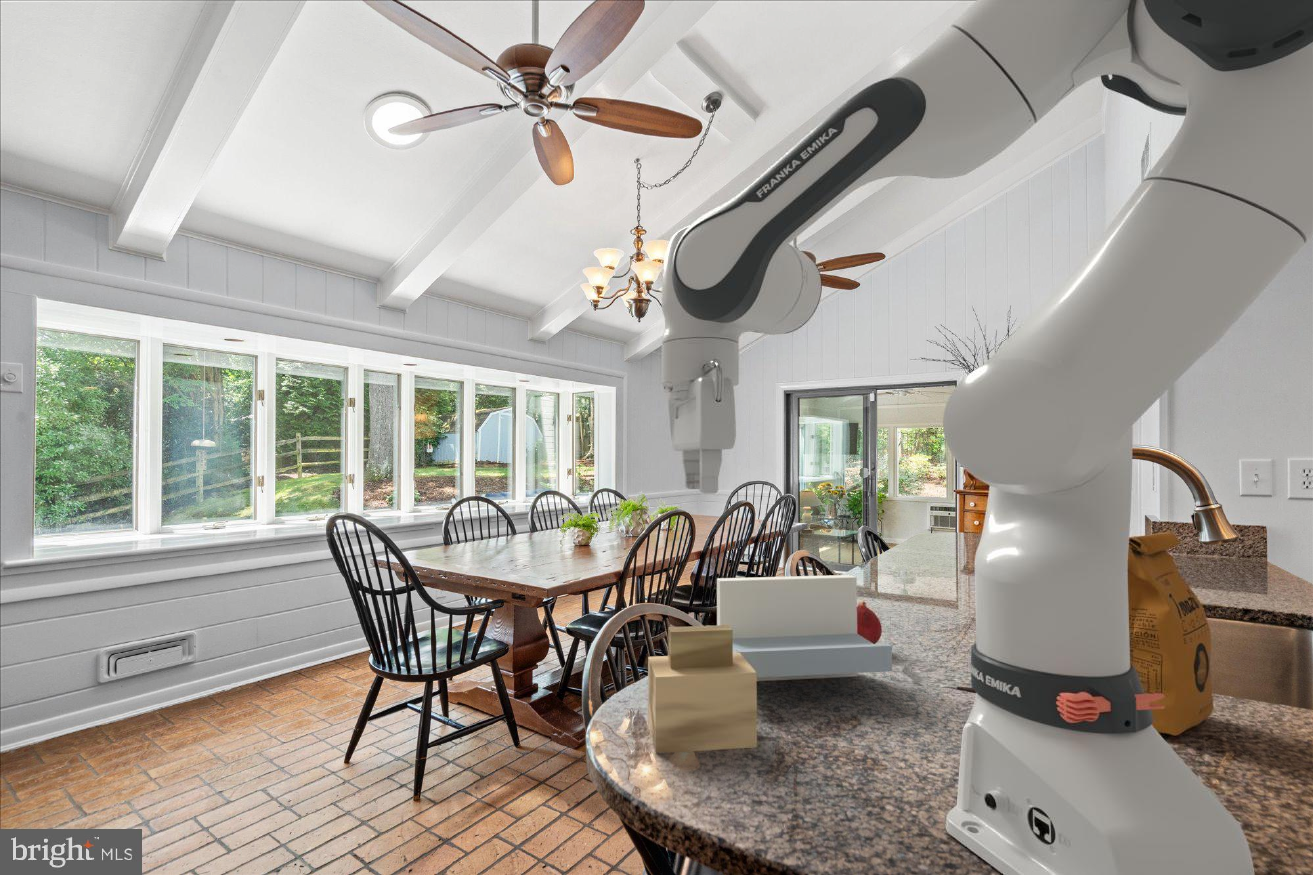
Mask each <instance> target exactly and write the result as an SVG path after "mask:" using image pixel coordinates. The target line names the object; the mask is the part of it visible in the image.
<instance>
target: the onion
mask: <svg viewBox="0 0 1313 875" xmlns="http://www.w3.org/2000/svg"><path fill="white" fill-rule="evenodd" d="M882 629H883V626H882V622H881V621H880V618H879V617H878V615H876V613H875V612H874V611H873V610H872V609H871V608H869V607H867V602H865V601H864V600H861V601H858V604H857V634H858V635H860V636H862V637H863V638H865V639H867V640H868V641H870V642H871V643H873V644H878V642H879V640H880V639H881V637H882V632H883V630H882Z"/></svg>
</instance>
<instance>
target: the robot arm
mask: <svg viewBox="0 0 1313 875" xmlns="http://www.w3.org/2000/svg"><path fill="white" fill-rule="evenodd" d="M1110 76H1111V78H1110ZM1099 77H1100V81H1101V84H1102V85H1103V86H1104V87H1105V88H1106V89H1107V90H1110V91H1112V92H1115V93H1117V94H1121V95H1123V96H1125V97H1129V98H1130V99H1133V100H1136V101H1138V102H1139V103H1141V104H1143V105H1145V106H1146V107H1149V108H1150V109H1152V110H1155V111H1158V112H1160V113H1161V112H1162V113H1163V114H1168V115H1174V116H1179V117H1180V116H1181V117H1184V119H1183V122H1182V125H1181V126H1180V128H1179V130H1178V131H1177V133H1176V134H1175V136H1174V138H1173V140H1172V141H1171V142H1170V143H1169V145H1168V147H1167V149H1166V150H1165V151H1164V152H1163V153H1162V155H1161V157H1160V158H1159V159H1158V160H1157V161H1156V163H1155V165H1154V166H1153V167H1152V168H1151V170H1150V171H1149V172H1148V174H1147V175H1146V177H1145V178H1144V179H1143V180H1142V182H1141V183H1140V184H1139V185H1138V187H1137V188H1136V189H1135V191H1134V192H1133V193H1132V194H1131V196H1130V198H1128V200H1127V201H1126V202H1125V204H1124V206H1123V207H1122V208H1121V209H1120V211H1119V212H1118V213H1117V215H1116V216H1115V218H1114V219H1113V220H1112V221H1111V222H1110V224H1109V225H1108V226H1107V228H1106V229H1105V231H1103V233H1102V235H1101V236H1100V237H1099V238H1098V240H1096V241H1095V242H1096V243H1094V245H1093V246H1092V248H1091V249H1090V250H1089V252H1088V253H1087V254H1086V256H1085V257H1084V258H1083V259H1082V261H1081V262H1080V263H1079V265H1078V266H1077V267H1076V269H1075V270H1074V271H1073V272H1072V273H1071V275H1069V277H1068V278H1067V279H1066V280H1065V281H1064V282H1063V284H1062V285H1061V286H1059V288H1057V290H1055V292H1053V294H1052V295H1051V296H1049V298H1048V299H1047V300H1045V302H1044V303H1043V304H1041V306H1040V307H1039V308H1038V309H1037V310H1036V311H1035V312H1033V313H1032V315H1030V317H1028V318H1027V319H1026V320H1025V321H1024V322H1023V324H1021V325H1020V326H1019V327H1018V329H1016V330H1015V332H1014V333H1012V335H1010V336H1009V338H1007V340H1006V341H1005V342H1004V343H1003V344H1002V345H1001V346H1000V347H999V348H998V349H997V350H996V352H994V353H993V355H992V356H991V357H990V358H988V360H986V362H984V363H983V364H982V365H980V366H979V367H977V368H976V369H974V370H973V371H970V372H969V374H967V375H965V377H963V378H962V379H961V380H960V381H959V382H958V383H957V385H956V386H955V387H954V389H953V390H952V392H951V394H950V395H949V397H948V399H947V402H946V404H945V408H944V412H943V418H942V428H943V429H942V430H943V435H944V440H945V442H946V446H947V447H948V450H949V451H950V453H951V454H952V456H953V458H954V459H955V460H956V462H957V463H958V464H959V465H960V466H961V467H962V468H964V470H966V471H967V472H968V473H969V474H970V475H972V476H973V477H974V478H976V479H977V480H979V481H981V482H982V483H984V484H986V485H988V486H989V488H988V495H987V496H988V497H987V502H986V510H985V515H984V520H983V521H984V522H983V526H982V532H981V536H980V540H979V544H978V546H977V548H976V551H975V556H974V563H973V564H974V596H975V597H974V600H975V601H974V603H975V605H974V606H975V607H974V608H975V643H974V644H972V645H971V649H970V650H971V651H970V658H969V671H970V684H971V685H970V686H971V688H973V689H974V691H975V692H976V693H975V697H974V698H975V699H974V701H973V704H972V708H971V711H970V714H969V716H968V718H967V720H966V722H965V723H964V726H963V728H962V735H961V745H960V746H961V747H960V755H959V756H960V759H959V771H958V783H957V785H958V786H957V797H956V799H957V800H956V805H955V806H954V807H953V808H952V809H950V811H949V812H948V813H947V815H946V817H945V820H946V822H945V830H946V831H947V833H948V834H949V835H950V836H952V837H953V838H955V839H956V841H958V842H960V843H961V844H962V845H963V846H965V847H967V848H968V849H969V851H971V852H973V853H974V854H976V855H977V856H978V857H980V858H981V859H982V860H984V861H985V862H986V863H988V864H989V865H990V866H992V867H993V868H994V869H996V870H997V871H998V872H1000V873H1001V874H1003V875H1255V870H1254V869H1255V868H1254V864H1253V863H1254V862H1253V858H1252V854H1251V850H1250V847H1249V843H1248V840H1247V837H1246V835H1245V833H1244V830H1243V828H1242V827H1241V824H1240V823H1239V821H1238V820H1237V819H1236V818H1235V817H1234V816H1233V814H1232V813H1230V811H1229V810H1228V809H1227V808H1226V807H1225V806H1224V805H1223V804H1222V802H1221V800H1220V798H1219V797H1218V795H1217V793H1216V792H1215V791H1214V790H1213V789H1212V788H1211V787H1209V786H1207V785H1205V784H1204V783H1203V782H1202V780H1200V778H1199V777H1198V776H1197V775H1196V774H1195V773H1194V772H1193V771H1192V769H1191V768H1190V767H1189V766H1188V764H1186V763H1185V761H1184V760H1183V759H1182V758H1181V757H1180V755H1179V754H1178V753H1177V752H1176V751H1175V750H1174V749H1173V748H1172V746H1171V745H1170V744H1169V743H1168V742H1167V741H1166V740H1165V739H1164V738H1163V737H1162V735H1161V733H1159V732H1157V731H1156V729H1155V728H1154V727H1153V725H1152V723H1153V721H1154V718H1153V715H1152V712H1151V710H1153V709H1164V708H1165V706H1162V705H1149V703H1150V702H1151V701H1157V700H1159V699H1162V698H1164V695H1163V694H1161V693H1155V694H1145V692H1144V689H1143V687H1142V684H1141V681H1140V679H1139V676H1138V674H1137V671H1136V669H1135V668H1134V666H1133V665H1132V664H1130V639H1129V607H1128V548H1129V537H1130V530H1131V512H1132V490H1133V488H1132V485H1133V484H1132V483H1133V443H1134V442H1133V436H1134V434H1133V425H1135V424H1136V423H1137V421H1138V420H1139V419H1140V418H1141V417H1142V416H1143V415H1144V414H1145V413H1146V412H1147V411H1148V410H1149V409H1150V408H1151V407H1152V406H1153V405H1154V404H1155V403H1156V401H1158V400H1159V398H1161V397H1162V396H1163V395H1164V394H1165V393H1166V391H1168V390H1169V389H1170V388H1171V387H1172V386H1173V385H1174V384H1175V383H1176V382H1177V381H1178V380H1179V379H1180V378H1181V377H1182V376H1183V375H1184V374H1185V373H1186V372H1187V371H1188V370H1189V369H1190V368H1192V366H1193V365H1194V364H1195V363H1197V362H1198V361H1199V359H1201V358H1202V357H1203V356H1204V355H1205V354H1206V353H1207V352H1208V351H1209V350H1211V349H1212V348H1213V347H1215V345H1217V343H1218V342H1219V341H1220V340H1222V338H1223V337H1224V335H1226V333H1227V332H1228V331H1229V330H1230V329H1231V327H1232V326H1233V325H1234V324H1235V323H1236V322H1237V321H1238V320H1239V319H1240V317H1241V316H1242V315H1243V314H1244V313H1245V312H1246V311H1247V309H1248V308H1249V307H1250V306H1251V305H1252V304H1253V303H1254V302H1255V300H1256V299H1258V297H1260V294H1262V292H1264V290H1265V289H1266V288H1267V287H1268V286H1269V284H1271V282H1272V281H1274V279H1275V278H1276V277H1277V276H1278V274H1280V272H1281V271H1282V270H1283V269H1284V268H1285V266H1286V265H1287V264H1288V263H1289V262H1290V261H1291V260H1292V258H1294V256H1296V254H1297V253H1298V252H1299V250H1301V249H1302V247H1303V246H1304V244H1306V243H1307V242H1308V241H1309V239H1310V238H1311V237H1312V236H1313V0H976V1H975V2H973V4H971V5H970V7H968V8H967V9H966V10H965V11H964V12H963V13H962V14H961V15H960V16H959V17H958V18H957V19H956V20H954V22H953V23H952V24H951V25H950V26H949V27H948V28H947V29H945V31H943V33H942V34H941V35H940V36H938V38H937V39H936V40H934V41H933V43H932V44H931V45H929V46H928V47H927V48H926V49H925V50H923V52H921V53H920V54H919V55H918V56H917V57H915V58H914V59H913V60H911V62H909V63H908V64H907V65H905V66H904V67H902V68H901V69H899V70H898V71H897V72H895V73H894V74H892V75H890V76H889V77H887V78H885V79H882V80H880V81H876V82H874V83H872V84H870V85H869V86H867V87H865V88H864V89H861V91H859V92H857V93H856V94H855V95H853V96H852V97H850V98H849V99H848V100H847V101H846V102H844V103H842V105H840V106H839V107H838V108H836V110H833V112H831V113H830V114H829V115H828V116H827V117H826V118H825V119H824V120H822V121H821V122H820V123H819V124H818V125H817V126H815V127H814V128H813V129H812V130H811V131H810V132H809V133H807V134H806V135H805V136H804V137H803V138H801V140H799V141H798V142H797V143H796V144H795V145H794V146H793V147H792V148H790V149H789V150H787V152H786V153H784V154H783V155H782V156H781V157H780V158H779V159H778V160H777V161H776V162H774V163H773V164H772V165H771V166H770V167H768V169H767V170H765V171H764V172H762V174H761V175H760V176H758V177H757V178H756V179H755V180H754V181H753V182H751V183H750V184H749V185H748V186H747V187H745V189H743V190H741V192H740V193H738V194H736V195H735V196H734V197H733V198H731V199H729V200H728V201H726V202H724V203H722V204H720V205H719V206H716V207H714V208H713V209H711V210H709V211H707V212H705V213H703V214H702V215H701V216H699V217H698V218H696V219H695V220H694V221H693V222H692V223H691V224H689V225H687V226H685V227H683V228H681V229H680V230H678V231H677V232H675V233H674V234H673V235H672V236H671V238H670V240H669V242H668V245H667V248H666V252H665V254H664V260H663V268H662V276H661V277H662V278H661V310H662V313H663V318H664V324H665V325H664V333H663V336H662V338H661V385H663V391H664V393H668V395H667V396H668V415H669V426H670V427H669V428H670V439H671V444H672V448H673V450H674V451H676V452H681V458H682V459H681V462H682V467H683V472H684V487H685V488H686V489H687V490H699V491H700V493H702V494H708V495H709V494H710V495H711V494H712V495H713V494H714V495H715V494H717V493H718V491H719V476H720V470H721V466H722V461H723V459H722V458H723V457H722V456H723V452H722V451H723V450H731V449H733V448H734V446H735V443H736V439H737V438H736V436H737V424H736V423H737V422H736V400H735V389H734V387H735V386H738V385H739V384H740V380H739V379H740V378H739V377H740V372H739V371H740V367H739V366H740V364H739V362H740V361H739V358H740V356H739V355H740V352H739V351H740V350H739V349H740V348H739V340H740V336H742V334H744V333H749V332H752V333H759V334H763V335H770V336H771V335H774V336H775V335H777V336H778V335H785V334H790V333H793V332H795V331H797V330H798V329H800V328H803V326H804V325H805V324H807V323H808V322H809V321H810V319H811V318H812V317H813V315H814V314H815V312H816V310H817V309H818V307H819V304H820V300H821V296H822V292H823V283H822V276H821V272H820V270H819V268H818V265H817V264H816V262H815V261H814V260H813V259H812V258H811V257H810V256H808V255H807V254H805V252H803V251H802V250H800V249H798V248H797V247H795V246H794V245H792V244H790V243H792V241H794V240H795V239H797V237H799V236H800V235H802V233H803V232H805V231H806V230H807V229H808V228H810V227H811V226H812V225H814V224H815V223H816V222H817V221H818V220H819V219H821V218H822V217H823V216H824V215H826V214H827V213H829V211H831V210H832V209H833V208H835V206H836V205H838V204H839V203H840V202H842V201H843V200H844V199H845V198H847V196H850V194H852V193H853V192H854V191H856V190H857V189H859V188H861V187H864V186H865V185H867V184H870V183H872V182H875V181H879V180H881V179H886V178H892V177H906V176H908V177H909V176H910V177H911V176H912V177H919V178H920V177H922V178H927V179H928V178H929V179H936V180H937V179H940V180H941V179H942V180H943V179H951V178H958V177H963V176H966V175H968V174H970V173H971V172H973V171H975V170H976V169H978V168H980V167H982V166H983V165H984V164H986V163H988V162H989V161H991V160H992V159H994V158H995V157H997V156H998V155H999V154H1001V153H1002V152H1004V151H1005V150H1007V148H1010V146H1011V145H1013V143H1015V142H1016V141H1017V140H1018V139H1020V138H1021V137H1022V136H1023V135H1024V134H1025V133H1026V132H1028V131H1029V130H1030V129H1031V128H1032V127H1033V126H1034V125H1035V124H1037V123H1038V122H1039V121H1040V120H1041V119H1043V118H1044V117H1045V116H1046V115H1047V114H1049V112H1050V111H1051V110H1053V109H1054V108H1055V107H1056V106H1057V105H1059V103H1060V102H1061V101H1063V100H1064V99H1066V97H1068V96H1069V95H1071V93H1072V92H1075V90H1077V89H1078V88H1079V87H1082V85H1084V84H1086V83H1087V82H1089V81H1091V80H1094V79H1095V78H1099Z"/></svg>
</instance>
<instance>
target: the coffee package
mask: <svg viewBox="0 0 1313 875" xmlns="http://www.w3.org/2000/svg"><path fill="white" fill-rule="evenodd" d="M1180 544H1181V541H1180V539H1179V538H1178V537H1177V536H1176V535H1175V534H1174V533H1173V532H1172V531H1165V532H1157V533H1151V534H1145V535H1139V536H1136V535H1133V536H1129V548H1128V607H1129V639H1130V664H1132V665H1133V666H1134V668H1135V669H1136V671H1137V674H1138V676H1139V679H1140V681H1141V684H1142V687H1143V689H1144V692H1145V694H1155V693H1161V694H1163V695H1164V698H1162V699H1159V700H1157V701H1151V702H1150V703H1149V705H1162V706H1165V708H1164V709H1153V710H1151V712H1152V715H1153V718H1154V721H1153V723H1152V725H1153V727H1154V728H1155V729H1156V731H1157V732H1158V733H1159V734H1161V733H1162V734H1168V735H1171V736H1179V735H1181V734H1182V733H1183V732H1185V731H1187V730H1188V729H1191V728H1192V727H1196V726H1198V725H1199V724H1201V723H1202V722H1203V721H1204V720H1205V721H1206V720H1207V718H1209V717H1210V716H1211V714H1212V713H1213V710H1214V700H1213V688H1212V686H1213V685H1212V673H1211V659H1212V658H1211V656H1212V651H1211V650H1212V647H1211V646H1212V643H1211V642H1212V639H1211V627H1210V626H1209V621H1208V619H1207V615H1206V613H1205V610H1204V608H1203V605H1202V603H1201V601H1200V600H1199V598H1198V597H1197V595H1196V594H1195V592H1194V591H1193V590H1192V587H1190V585H1189V584H1188V583H1187V582H1186V581H1185V579H1184V578H1183V577H1182V576H1181V575H1180V573H1179V570H1178V567H1177V565H1176V562H1175V561H1174V558H1173V556H1172V555H1171V554H1170V553H1169V552H1168V551H1167V550H1170V549H1173V548H1176V547H1177V546H1179V545H1180Z"/></svg>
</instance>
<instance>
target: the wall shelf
mask: <svg viewBox="0 0 1313 875" xmlns="http://www.w3.org/2000/svg"><path fill="white" fill-rule="evenodd" d="M857 583H858V582H857V576H854V575H851V574H836V575H835V574H833V575H831V574H829V575H801V576H800V575H799V576H796V575H795V576H793V575H791V576H763V577H762V576H761V577H757V576H756V577H755V576H754V577H720V578H719V577H717V578H716V626H718V625H729V626H730V628H731V629H732V630H733V653H740V654H741V655H742V656H743V657H744V658H745V660H746V661H747V662H748V663H749V664H750V666H751V667H752V668H753V669H754V670H755V672H756V673H757V682H764V681H765V682H767V681H789V680H804V679H805V680H806V679H807V680H808V679H827V678H828V679H829V678H848V677H850V678H851V677H858V676H859V674H861V673H862V674H863V673H882V672H884V673H885V672H893V645H891V644H890V643H876V644H873V643H871V642H870V641H868V640H867V639H865V638H863V637H862V636H860V635H858V634H857V607H858V602H857V601H858V597H857V596H858V594H857V593H858V592H857V586H858V585H857ZM858 673H859V674H858Z"/></svg>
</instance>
